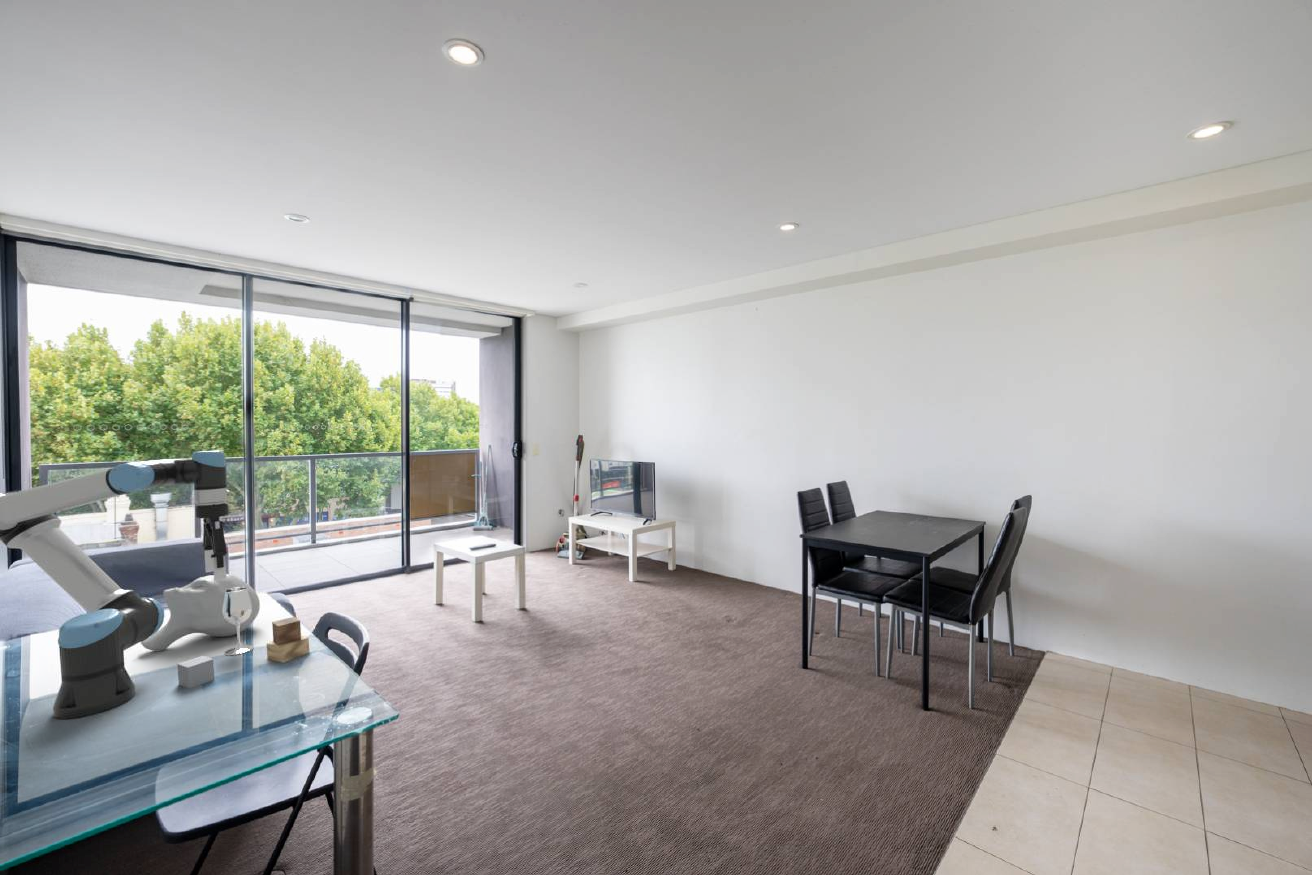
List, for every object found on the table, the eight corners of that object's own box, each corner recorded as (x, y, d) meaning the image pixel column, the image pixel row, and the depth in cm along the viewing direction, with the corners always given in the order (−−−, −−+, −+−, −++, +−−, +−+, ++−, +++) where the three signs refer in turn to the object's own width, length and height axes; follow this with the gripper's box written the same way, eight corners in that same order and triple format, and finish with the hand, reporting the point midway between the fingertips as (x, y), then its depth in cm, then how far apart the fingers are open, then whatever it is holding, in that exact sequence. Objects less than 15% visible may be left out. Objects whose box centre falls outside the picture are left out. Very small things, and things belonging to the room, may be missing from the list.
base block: (283, 663, 168) (282, 647, 168) (267, 659, 172) (266, 643, 171) (309, 652, 175) (308, 637, 175) (293, 649, 179) (292, 634, 179)
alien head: (113, 608, 180) (222, 551, 203) (158, 665, 189) (258, 604, 211) (123, 621, 167) (239, 558, 189) (170, 682, 175) (276, 615, 198)
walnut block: (278, 645, 169) (277, 626, 169) (273, 640, 173) (272, 621, 173) (301, 639, 174) (300, 620, 174) (295, 635, 178) (294, 616, 178)
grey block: (188, 688, 153) (187, 667, 153) (178, 684, 156) (177, 663, 155) (214, 679, 158) (213, 658, 158) (204, 675, 161) (202, 655, 161)
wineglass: (241, 655, 175) (238, 592, 174) (217, 656, 175) (214, 593, 174) (260, 645, 182) (256, 585, 182) (236, 646, 183) (233, 586, 182)
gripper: (236, 504, 156) (240, 579, 157) (219, 498, 173) (223, 565, 174) (202, 508, 151) (207, 585, 151) (188, 501, 168) (192, 571, 168)
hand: (215, 575), depth 162 cm, fingers open, 13 cm apart
